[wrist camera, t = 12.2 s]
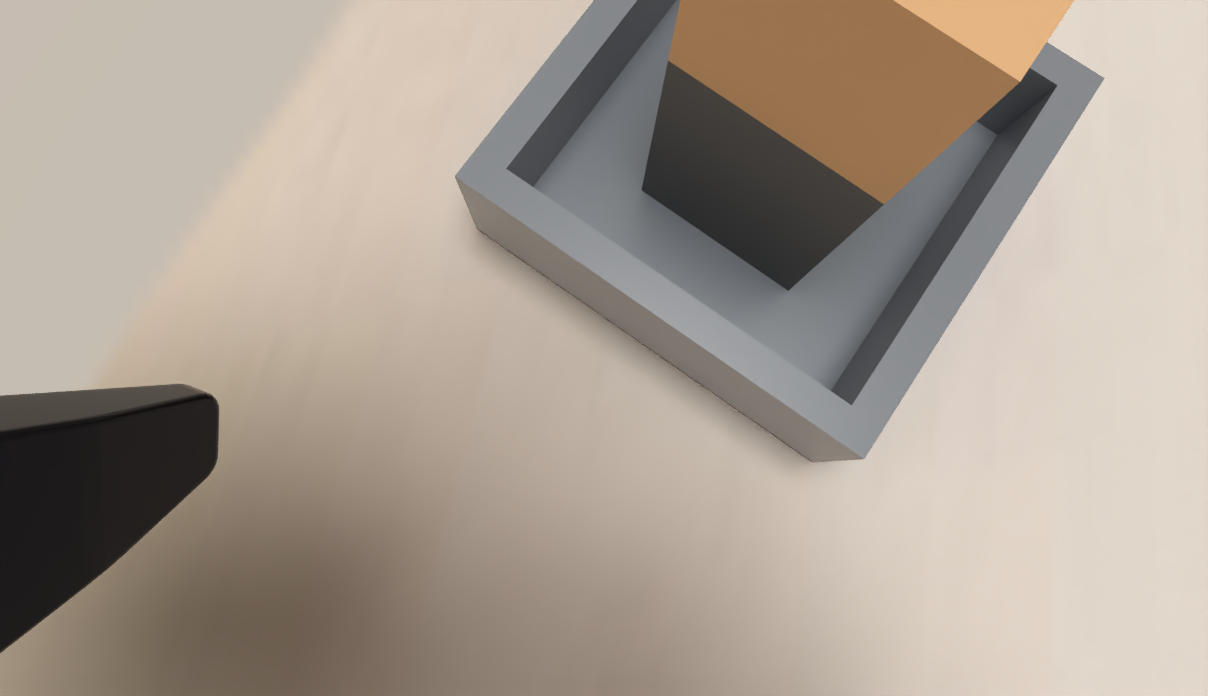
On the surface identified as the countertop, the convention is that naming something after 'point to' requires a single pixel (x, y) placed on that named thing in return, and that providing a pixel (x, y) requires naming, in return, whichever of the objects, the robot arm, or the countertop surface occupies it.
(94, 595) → the countertop surface
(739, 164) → the copper cell
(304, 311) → the countertop surface
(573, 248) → the bin
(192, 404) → the robot arm
